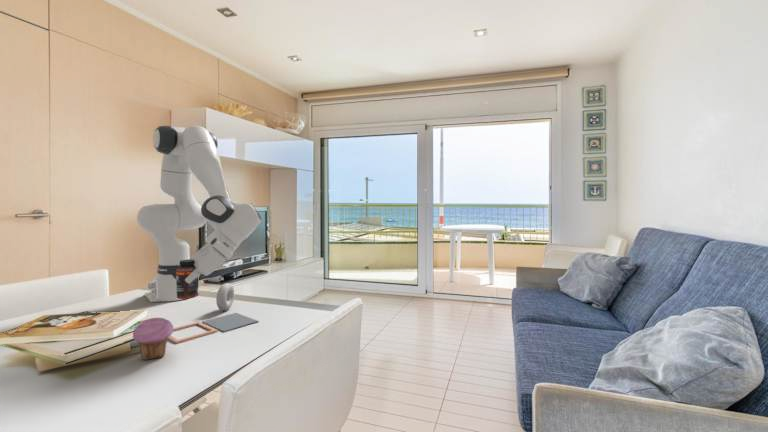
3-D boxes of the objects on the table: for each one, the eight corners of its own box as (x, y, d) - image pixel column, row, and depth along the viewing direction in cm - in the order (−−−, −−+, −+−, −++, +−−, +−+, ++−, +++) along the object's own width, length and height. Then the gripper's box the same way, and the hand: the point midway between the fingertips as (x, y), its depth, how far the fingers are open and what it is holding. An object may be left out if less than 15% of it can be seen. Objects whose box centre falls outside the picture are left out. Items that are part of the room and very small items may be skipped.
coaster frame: (158, 333, 109) (158, 332, 109) (199, 323, 118) (199, 321, 118) (176, 343, 102) (176, 341, 102) (217, 331, 111) (217, 329, 111)
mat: (202, 322, 119) (202, 321, 119) (235, 313, 129) (235, 312, 129) (224, 332, 111) (224, 331, 111) (258, 322, 120) (258, 320, 120)
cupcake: (131, 366, 88) (130, 326, 87) (135, 353, 95) (134, 316, 95) (174, 358, 92) (173, 320, 92) (173, 346, 100) (173, 311, 99)
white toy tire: (224, 314, 128) (223, 286, 127) (214, 314, 128) (214, 286, 128) (236, 306, 138) (236, 280, 137) (227, 306, 138) (227, 280, 138)
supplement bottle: (202, 294, 112) (202, 258, 112) (190, 300, 106) (190, 262, 106) (185, 294, 113) (184, 258, 112) (172, 299, 107) (171, 261, 106)
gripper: (206, 235, 121) (173, 267, 116) (217, 242, 104) (179, 279, 99) (221, 248, 124) (189, 279, 119) (234, 256, 107) (198, 292, 102)
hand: (185, 279), depth 109 cm, fingers closed on supplement bottle, 6 cm apart
